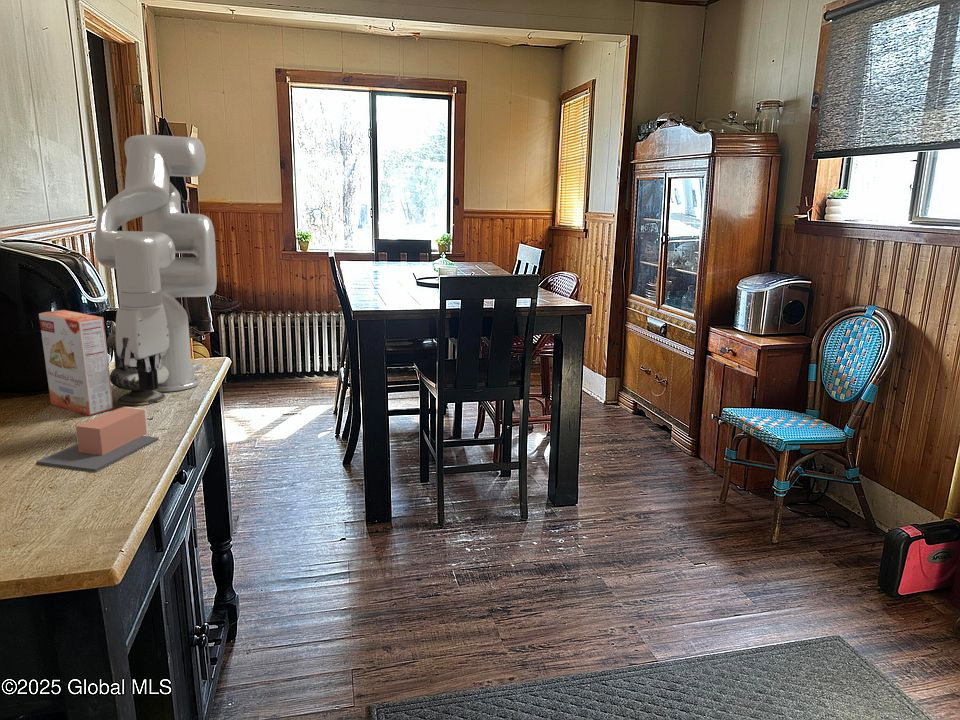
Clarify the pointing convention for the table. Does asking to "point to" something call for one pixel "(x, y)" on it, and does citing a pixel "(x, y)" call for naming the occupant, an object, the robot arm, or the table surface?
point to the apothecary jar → (133, 379)
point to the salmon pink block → (111, 430)
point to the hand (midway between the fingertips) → (149, 388)
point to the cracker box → (76, 361)
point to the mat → (94, 456)
